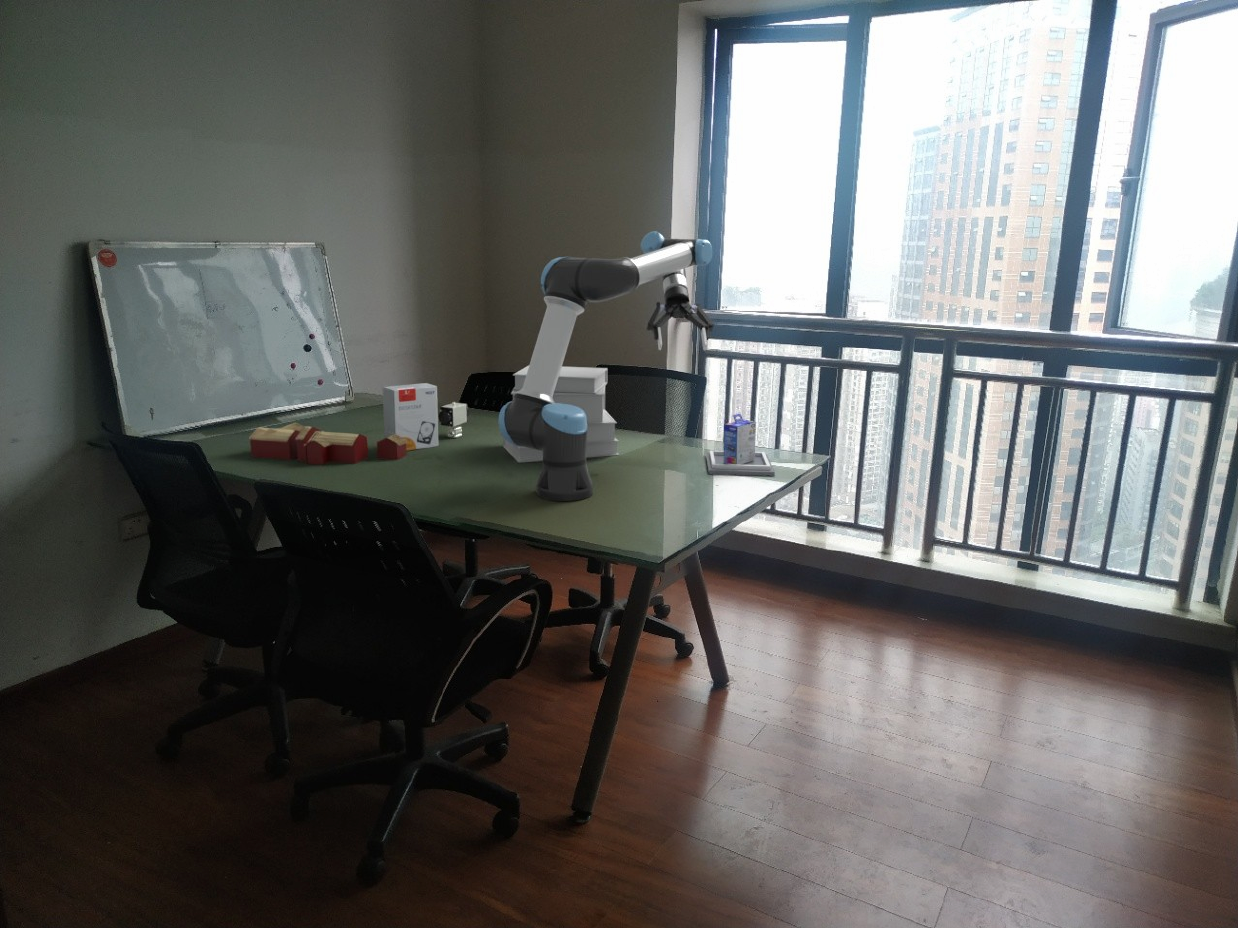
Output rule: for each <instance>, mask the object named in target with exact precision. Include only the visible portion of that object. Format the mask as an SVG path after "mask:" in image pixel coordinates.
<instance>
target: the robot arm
mask: <svg viewBox="0 0 1238 928" xmlns="http://www.w3.org/2000/svg"><path fill="white" fill-rule="evenodd" d="M640 249H641V251H642V253H643V254H640V255H636V256H634V257H631V258H629V257H627V256H626V257H625V256H622V257H619V258H611V259H610V258H598V257H597V258H594V257H593V258H592V257H590V258H587V257H573V256H564V257H555V258H553V259H551V260H550V261H549V262H548V263H546V265H545V267H544V269H543V270H542V272H541V277H540V284H541V285H542V286H541V291H542V293H543V294H544V296H543V301H544V303H545V304H546V309H545V313H544V316H543V318H542V319H543V320H542V323H541V325H540V330H539V333H538V335H537V340H536V342H535V345H534V349H533V352H532V356H531V359H530V362H529V364H528V365H529V368H528V372H527V375H526V378H525V381H524V385H523V388H522V389H521V390H519V391H517V392H516V393H515V395H514V398H513V397H512V400H511V401H509V402H507V403H505V405H503V406H502V407H501V409H500V412H499V414H498V422H497V423H498V429H499V431H500V433H501V436H502V438H503V437H504V439H505V440H507V441H508V442H510V443H512V444H515V445H517V446H520V447H528V448H532V449H536V450H541V451H543V461H542V466H541V469H540V473H539V476H538V479H537V481H536V486H535V490H536V491H535V492H536V496H538V497H540V498H542V499H544V500H547V501H548V500H549V501H555V502H556V501H557V502H558V501H559V502H570V501H571V502H573V501H581V500H584V499H587V498H589V497H591V496H592V495H593V494H594V487H593V482H592V479H591V475H590V473H589V470H588V466H587V458H586V457H587V421H586V414H585V412H584V411H583V410H582V409H580V408H579V407H576V406H573V405H569V404H561V403H555V402H554V400H553V394H554V391H555V387H556V384H557V381H558V377H559V374H560V371H561V367H562V366H563V364H564V361H565V357H566V354H567V350H568V347H569V343H570V340H571V337H572V333H573V330H574V328H575V327H574V326H575V324H576V321H577V317H578V316H579V315H581V314H583V313H584V312H585V309H586V306H587V303H602V302H605V301H609V300H613V299H615V298H619V297H621V296H625V295H627V294H629V293H633V292H635V291H636V290H637V289H638V287H639V286H640V285H643V284H646V283H648V282H649V283H650V282H651V281H653V280H654V281H655V280H657V279H659V278H661V280H662V287H663V294H664V296H663V298H664V304H663V303H660V302H659V301H657V302H656V303H655V304H656V305H655V308H654V310H653V313H652V314H651V317H650V319H648V322H647V327H646V330H647V331H652V334H653V339H654V340H656V341H657V348H658V351H662V348H663V339H662V330H661V329H662V327H663V326H664V325H665V324H666V322H668V321H670V319H672V318H673V319H685V320H687V321H689V322H691V323H692V324H693V325H694V326H696V327H697V328H698V329H699V331H701V332H700V335H701V344H702V349H703V350H702V351H707V349H708V348H707V347H708V341H709V338H710V332H712V331H713V329H714V326H715V325H714V323H713V321H712V320H711V319H710V317H709V316H708V314H707V313H706V312H705V311H704V310H703V308H702V306H701V303H700V302H696V304H691V302H690V296H689V295H690V293H689V287H688V280H687V275H686V268H689V267H693V266H697V267H700V266H707V265H708V264H709V263H710V262H711V260H712V258H713V246H712V243H711V242H710V241H709V240H708V239H701V238H692V239H689V238H665V237H664V236H663V234H661V233H660V232H658V231H657V230H656V231H655V230H653V231H650V232H648V233H647V234H645V236H643V238H642V240H641V241H640ZM662 311H665V312H664V314H663V315H662V316H661V317H660V318H659V319H658V320H657V318H658V316H659V314H660V313H661V312H662ZM656 320H657V321H656Z"/></svg>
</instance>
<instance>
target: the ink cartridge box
mask: <svg viewBox="0 0 1238 928" xmlns="http://www.w3.org/2000/svg"><path fill="white" fill-rule="evenodd" d="M732 417H733V419H734V421H733V422H729V423H728V422H727V423H725V424H723V451H724V463H725V464H738V465H741V464H744V463H747V462H751V461H754V460H755V452H756V439H757V438H756V435H757V421H754V420H748V419H743V416H742V415H741V413H737V414H733V415H732ZM737 417H738V419H737ZM739 417H740V418H739Z"/></svg>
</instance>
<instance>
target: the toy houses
mask: <svg viewBox="0 0 1238 928" xmlns="http://www.w3.org/2000/svg"><path fill="white" fill-rule="evenodd" d="M248 440H249V442H250V453H251V457H252V458H264V459H265V458H266V459H275V460H276V459H277V460H278V459H279V460H289V461H291V460H293V459H298V461H297V462H301V463H302V462H304V463H307V464H308V465H317V466H324V465H326V464H328V463H343V464H353V465H354V464H358V463H360V462H361V461H363V460H366V459H367V458H369V450H368V448H369V447H368V437H367V436H365V435H363V434H362V433H359V434H358V433H349V432H347V433H346V432H334V431H333V432H331V431H323V430H321V429H319V428H318V427H315V426H307V425H305V426H303V425H302V424H300V423H298V422H296V421H295V422H293V423H290V424H287V425H285V426H282V427H279V428H274V427H273V428H271V427H270V428H268V427H256V428H255V429H254V431H253V432H252V433H251V434H250V436H249V438H248ZM406 442H407V440H406V439H404V438H402V437H400V436H398V435H397V434H394V435H392V436H389V437H387V438H385V437H384V438H382V439H381V440H379V441H376V442H374V444H375V445H376V449H377V459H381V460H382V459H384V460H396V461H398V460H400V459H402V458H403V457H406V456H407V454H408V453H407V451H406ZM408 442H409V441H408Z"/></svg>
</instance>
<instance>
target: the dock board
mask: <svg viewBox="0 0 1238 928" xmlns="http://www.w3.org/2000/svg"><path fill="white" fill-rule="evenodd" d="M705 458H706V465H707V471H708V475H719V474H733V475H732V476H751V475H769V476H768V477H775V476H776V475H775V474H776V473H775V470H774V468H773V465H772V462H771V461H770V459H769V456H768V454H766V451H755V460H754V461H751V462H747V463H744V464H741V465H738V464H725V463H724V450H709V452H706V453H705ZM735 474H736V475H735Z"/></svg>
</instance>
